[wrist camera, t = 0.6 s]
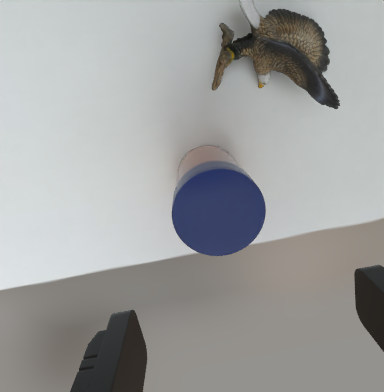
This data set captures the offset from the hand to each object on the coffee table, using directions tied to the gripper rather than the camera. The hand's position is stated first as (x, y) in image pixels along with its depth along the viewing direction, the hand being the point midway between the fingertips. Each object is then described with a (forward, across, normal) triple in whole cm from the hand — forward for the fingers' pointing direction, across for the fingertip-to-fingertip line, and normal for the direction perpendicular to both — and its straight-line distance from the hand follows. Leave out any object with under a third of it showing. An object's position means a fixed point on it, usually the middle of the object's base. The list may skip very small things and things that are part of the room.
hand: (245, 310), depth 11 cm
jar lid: (+9, 0, 0) cm, 9 cm away
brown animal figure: (+18, -7, -9) cm, 21 cm away
